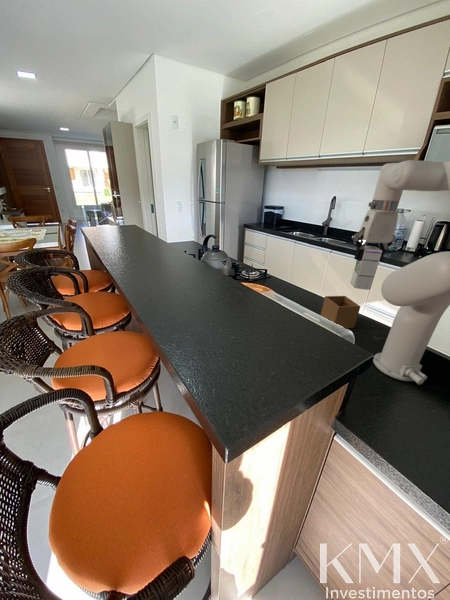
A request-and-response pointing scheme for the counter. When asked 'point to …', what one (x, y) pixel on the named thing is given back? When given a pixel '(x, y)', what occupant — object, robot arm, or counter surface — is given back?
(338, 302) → the brown open bin
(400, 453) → the counter surface
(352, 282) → the syrup box
